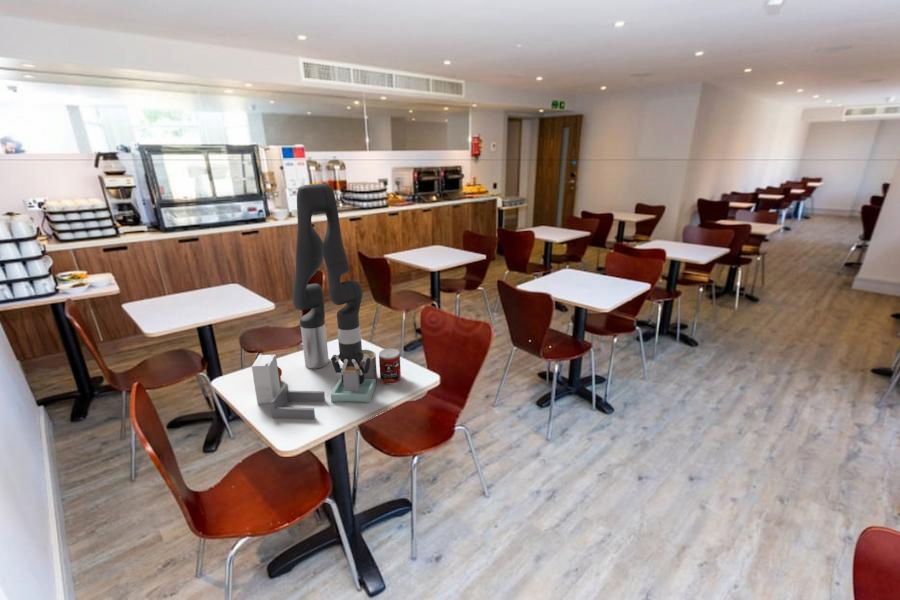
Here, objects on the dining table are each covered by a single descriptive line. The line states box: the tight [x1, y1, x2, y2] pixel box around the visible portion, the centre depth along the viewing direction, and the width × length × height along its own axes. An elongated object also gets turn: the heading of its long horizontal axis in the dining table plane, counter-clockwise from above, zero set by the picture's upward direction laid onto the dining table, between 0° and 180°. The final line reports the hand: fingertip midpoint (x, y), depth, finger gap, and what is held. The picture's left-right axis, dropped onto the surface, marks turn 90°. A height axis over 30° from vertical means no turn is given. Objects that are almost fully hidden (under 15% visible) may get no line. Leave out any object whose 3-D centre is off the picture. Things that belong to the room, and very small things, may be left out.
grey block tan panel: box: [343, 366, 362, 391], centre depth 146 cm, size 6×5×8 cm
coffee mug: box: [361, 349, 378, 381], centre depth 158 cm, size 13×10×10 cm
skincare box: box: [251, 354, 281, 405], centre depth 144 cm, size 8×6×15 cm
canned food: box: [378, 348, 402, 385], centre depth 157 cm, size 8×8×11 cm
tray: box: [330, 377, 377, 404], centre depth 148 cm, size 11×13×3 cm
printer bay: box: [269, 383, 326, 420], centre depth 139 cm, size 11×14×6 cm
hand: (353, 382), depth 147 cm, fingers closed on grey block tan panel, 5 cm apart
